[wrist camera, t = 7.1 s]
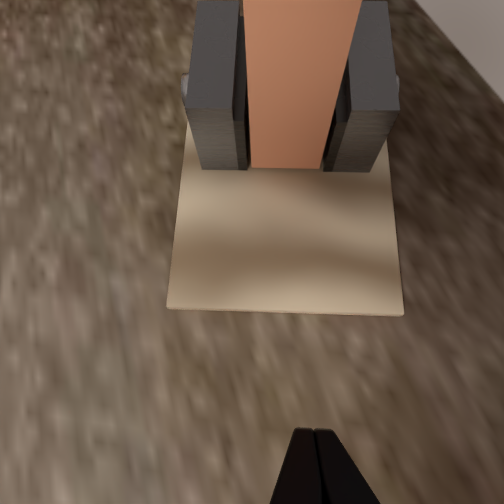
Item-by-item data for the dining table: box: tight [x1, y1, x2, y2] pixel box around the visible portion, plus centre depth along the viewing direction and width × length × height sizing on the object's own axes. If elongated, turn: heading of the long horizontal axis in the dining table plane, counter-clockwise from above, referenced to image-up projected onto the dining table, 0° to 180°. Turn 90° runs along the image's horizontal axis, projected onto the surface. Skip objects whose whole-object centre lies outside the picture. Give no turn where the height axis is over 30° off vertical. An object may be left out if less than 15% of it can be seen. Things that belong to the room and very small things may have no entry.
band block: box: [181, 1, 400, 173], centre depth 24 cm, size 8×13×6 cm, turn 88°
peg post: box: [243, 0, 362, 169], centre depth 21 cm, size 6×4×12 cm
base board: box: [166, 121, 404, 316], centre depth 26 cm, size 19×14×1 cm
